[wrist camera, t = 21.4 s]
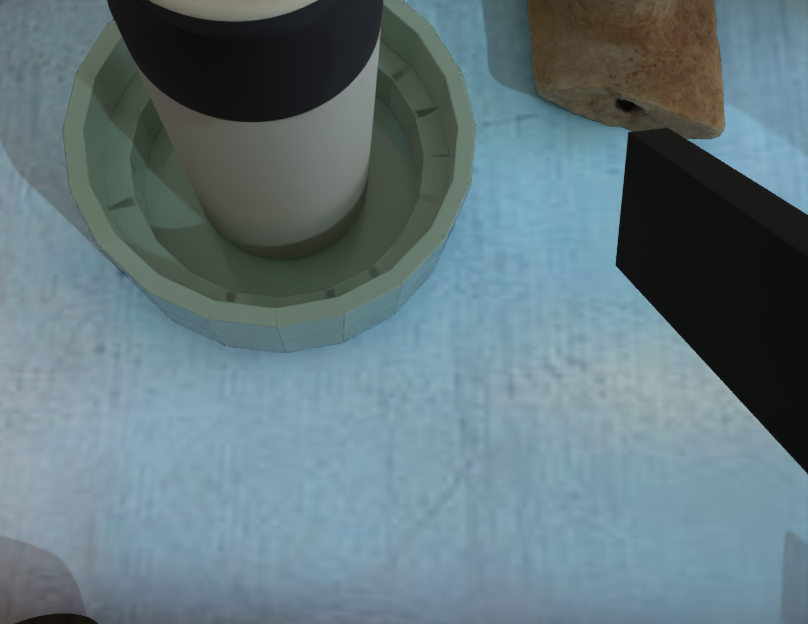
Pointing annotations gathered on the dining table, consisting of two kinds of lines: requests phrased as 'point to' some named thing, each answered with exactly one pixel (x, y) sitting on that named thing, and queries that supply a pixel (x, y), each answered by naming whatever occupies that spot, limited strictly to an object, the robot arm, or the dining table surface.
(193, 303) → the bowl
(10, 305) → the dining table surface
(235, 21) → the travel mug
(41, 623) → the dark brown angled bar
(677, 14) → the stone cup
